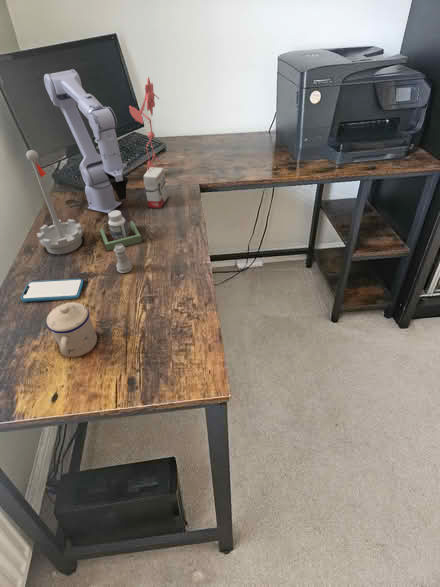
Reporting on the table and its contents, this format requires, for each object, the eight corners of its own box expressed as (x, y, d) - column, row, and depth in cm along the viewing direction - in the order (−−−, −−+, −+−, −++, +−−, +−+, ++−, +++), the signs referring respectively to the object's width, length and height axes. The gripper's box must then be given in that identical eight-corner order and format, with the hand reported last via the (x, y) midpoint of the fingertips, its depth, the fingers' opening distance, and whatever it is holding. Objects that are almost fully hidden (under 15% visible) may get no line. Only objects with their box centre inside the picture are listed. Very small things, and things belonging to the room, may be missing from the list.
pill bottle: (122, 231, 127) (116, 207, 121) (132, 236, 124) (126, 212, 118) (109, 238, 124) (102, 214, 118) (119, 244, 121) (113, 219, 115)
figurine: (138, 185, 152) (120, 88, 129) (151, 159, 172) (137, 71, 149) (177, 185, 151) (165, 86, 128) (185, 159, 170) (176, 69, 147)
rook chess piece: (135, 266, 112) (130, 243, 107) (127, 275, 109) (121, 252, 104) (121, 263, 113) (116, 240, 108) (114, 272, 110) (107, 249, 105)
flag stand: (35, 245, 122) (-5, 152, 102) (71, 228, 129) (41, 138, 109) (56, 261, 115) (17, 164, 95) (93, 242, 122) (64, 148, 102)
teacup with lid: (64, 330, 93) (48, 294, 86) (101, 327, 93) (88, 291, 86) (50, 370, 84) (31, 334, 77) (92, 367, 84) (77, 331, 77)
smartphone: (77, 296, 101) (20, 299, 101) (79, 299, 102) (21, 302, 101) (83, 278, 107) (28, 281, 106) (84, 281, 108) (30, 284, 107)
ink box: (161, 208, 137) (156, 177, 129) (148, 207, 138) (142, 176, 130) (168, 197, 144) (164, 167, 136) (155, 196, 144) (151, 166, 137)
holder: (101, 235, 125) (99, 228, 124) (134, 227, 128) (132, 220, 127) (107, 250, 118) (105, 244, 117) (141, 241, 122) (140, 235, 120)
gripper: (128, 157, 111) (137, 200, 120) (117, 142, 122) (126, 183, 130) (104, 162, 109) (115, 205, 118) (95, 147, 120) (106, 187, 128)
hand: (119, 194), depth 124 cm, fingers open, 7 cm apart
